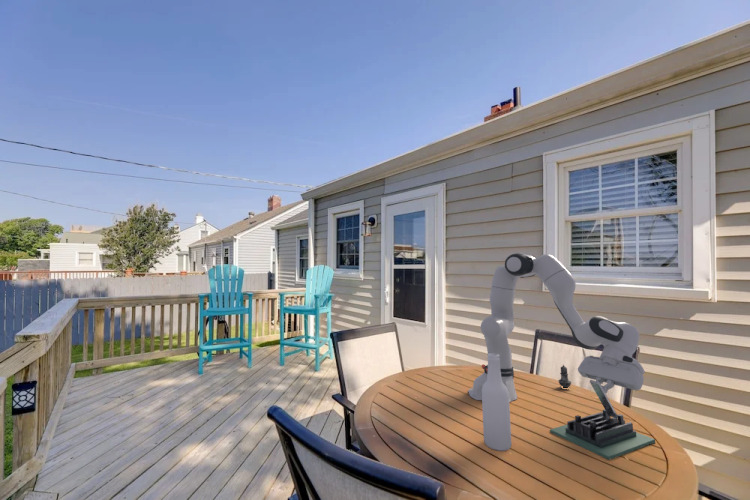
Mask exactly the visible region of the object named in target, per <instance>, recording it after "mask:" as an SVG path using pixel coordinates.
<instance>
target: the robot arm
mask: <svg viewBox="0 0 750 500" xmlns="http://www.w3.org/2000/svg"><path fill="white" fill-rule="evenodd" d="M535 276H537V277H538V278H539V279H540V281H541V282H542V283H543V284H544V286H545V287H546V289H547V290H548V291H549V294H550V295H551V297H552V299H553V302H554V304H555V306H556V308H557V310H558V311H559V313H560V315H561V316H562V318H563V319H564V321H565V322H566V324H567V326H568V327H569V329H570V332H571V335H572V337H573V340H574V342H575V343H576V344H577V345H578V346H579V347H581V348H582V349H585V350H587V351H588V350H591V351H592V350H596V349H597V348H599V347H600V346H601V345H602V346H603V350H602V351H601V354H600V356H593V355H589V356H585V357H584V358H583V360H582V361H581V363H580V364H579V365H578V368H577V372H578V373H579V374H580V375H581V377H583V378H587V379H590V380H593V381H597V382H599V383H600V385H601V386H602V388H603V390H604V392H605V394H607V393H608V391H609V390H611V389H612V388H614V387H615V386H618V387H621V388H624V389H629V390H633V391H640V390H641V389H642V387H643V384H644V379H645V377H644V374H645V372H646V371H645V369H644V367H643V366H642V364H641V363H640V362H639V361H638V360H637V359H635V358H634V357H633V354H634V353H636V351H637V348H638V345H639V341H640V332H639V331H638V329H637V328H636V327H635V326H634V325H632V324H630V323H627V322H625V321H621V322H620V321H619V322H618V321H614V320H611V319H609V318H607V317H605V316H601V315H596V316H592V317H591V318H590V319H588V320H586V321H584V319H583V318H582V316H581V315H580V313H579V311H578V310H577V309H576V307H575V305H574V302H573V301H574V300H573V299H574V293H575V290H576V285H577V283H576V280H575V279H574V276H573V275H572V274H571V273H570V271H569V270H568V269H567V268H566V267H565V266H564V265H563V264H562V263H561V262H560V260H558V259H557V258H556V257H555V256H553V255H552V254H549V253H547V254H542V255H539V256H538V257H536V256H535V255H531V254H528V253H519V252H517V253H512V254H510V255H508V256H507V258H506V259H505V260H504V265H499V266H497V267H496V269H495V271H494V274H493V277H492V281H491V287H490V294H489V295H490V296H489V304H490V311H491V315H489V316H487V317H485V318H484V319H483V320H482V322H481V323H480V331H481V333H482V335H483V338H484V341H485V343H486V344H485V345H486V349H487V350H486V351H487V354H489V353H495V354H498V355H499V358H500V360H499V362H500V370H501V378H502V382H503V383H504V385H505V386H506V387H507V389H508V392H509V404H510V403H511V402H512V401H515V400H517V399H518V395H517V391H516V388H515V387H516V386H515V381H514V379H515V378H514V377H515V372H514V371H515V370H514V367H513V359H512V358H513V357H512V349H511V347H510V344H509V340H508V335H510V334H511V333H513V330H514V329H515V322H514V316H515V315H514V301H515V295H516V294H515V293H516V288H517V287H516V284H517V281H518V280H519V279H524V278H532V277H535ZM481 368H482V369H483V370H484V371H483V373H481V374H480V375H479V376H477V377H476V378H474V380H473V385H472V388H471V387H470V388H469V389H468V392H469V393H468V395H469V397H471V398H472V399H473V400H476V401H482V387H483V385H484V383H485V382H486V381H487V374H488V364H486V365H485V364H481ZM604 383H606V384H605V385H603V384H604Z"/></svg>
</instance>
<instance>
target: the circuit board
mask: <svg viewBox="0 0 750 500" xmlns="http://www.w3.org/2000/svg"><path fill="white" fill-rule="evenodd" d="M567 427H568V426H567V424H564V425H560V426H558V427H554V428H550V429H549V433H551V434H553V435H555V436H557V437H559V438H562V439H564V440H566V441H568V442H570V443H572V444H574V445H576V446H579V447H580V448H582V449H585V450H587V451H589V452H591V453H593V454H595V455H597V456H600V457H601V458H604V459H606V460H609V461H611V460H613V459H615V457H616V458H619V457H621V456H624V455H626V454H628V453H629V454H630V453H631V452H633V451H636V449H637V450H638V449H641V448H643V447H647V446H650V445H652V444H655V443H656V439H655V438H652V437H649V436H647V435H645V434H642V433H639V432H637V431H636V436H635V437H632V438H629V439H626V440H623V441H621V442H618V443H615V444H612V445H609V446H606V447H604V448H599V447H597V446H595V445H593V444H590V443H588V442H586V441H584V440H581V439H579V438H577V437H575V436H572V435H570V434H568V433H566V429H565V428H567ZM649 444H650V445H649ZM646 445H647V446H646ZM623 454H624V455H623ZM618 456H619V457H618ZM610 459H611V460H610Z"/></svg>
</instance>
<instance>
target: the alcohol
mask: <svg viewBox="0 0 750 500" xmlns="http://www.w3.org/2000/svg"><path fill="white" fill-rule="evenodd" d="M486 359H487V365H488V374H487V381H486V382H485V383H484V385H483V387H482V400H481V401H482V403H481V405H482V428H483V442H484V444H485V446H486V447H487V448H488V449H491V450H493V449H494V451H498V452H505V451H506V450H507V451H508V450H510V448H511V447H512V429H511V425H512V424H511V410H510V409H511V408H510V403H509V392H508V389H507V387H506V386H505V385H504V383H503V382H502V378H501V370H500V362H499V360H500V358H499V355H498V354H495V353H489V354H488V353H487V358H486Z"/></svg>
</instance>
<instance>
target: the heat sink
mask: <svg viewBox="0 0 750 500" xmlns="http://www.w3.org/2000/svg"><path fill="white" fill-rule="evenodd" d="M617 416H618V419H617V418H614V417H611V416H608V414H607V412H606V410H605V408H604V409H602V411H601V412H598V413H593V414H591V415H587V416H583V417H582V416H581V415H575V416H574V419H572V420H569V421H566V423H567V424H566V425H567V426H568V427H567V428H565V429H566V433H568V434H570V435H572V436H575V437H577V438H579V439H581V440H584V441H586V442H588V443H590V444H593V445H595V446H597V447H599V448H604V447H606V446H609V445H612V444H615V443H618V442H621V441H623V440H626V439H629V438H632V437H635V436H636V432H637V431H636V430H634V425H633V422H627V423H626V420H625V419H624V415H623V414H620V413H619V414H617Z"/></svg>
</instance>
